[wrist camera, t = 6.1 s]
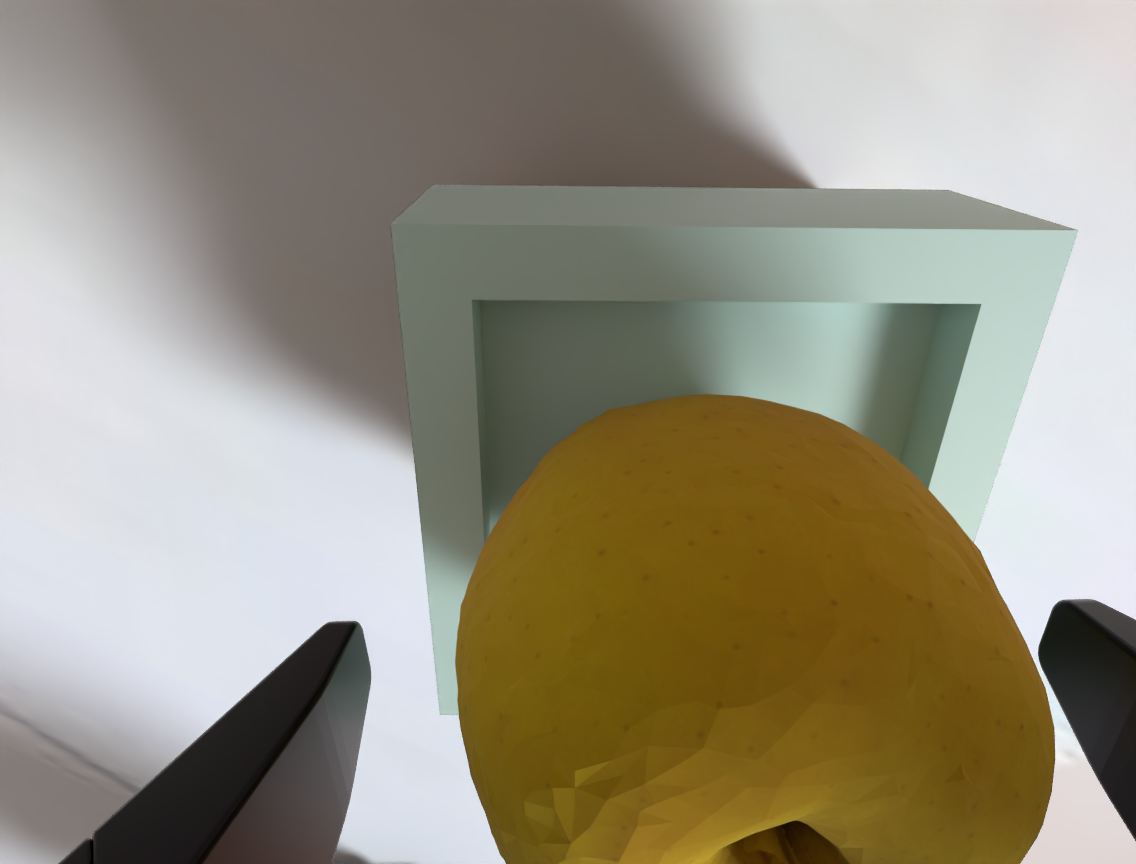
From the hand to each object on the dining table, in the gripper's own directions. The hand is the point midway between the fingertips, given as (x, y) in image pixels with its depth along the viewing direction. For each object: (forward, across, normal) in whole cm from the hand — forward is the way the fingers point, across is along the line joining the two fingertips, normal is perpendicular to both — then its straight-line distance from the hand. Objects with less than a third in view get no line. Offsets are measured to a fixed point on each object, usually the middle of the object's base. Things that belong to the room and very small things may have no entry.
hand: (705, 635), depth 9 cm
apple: (+4, 0, 0) cm, 4 cm away
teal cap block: (+6, 0, 0) cm, 6 cm away
